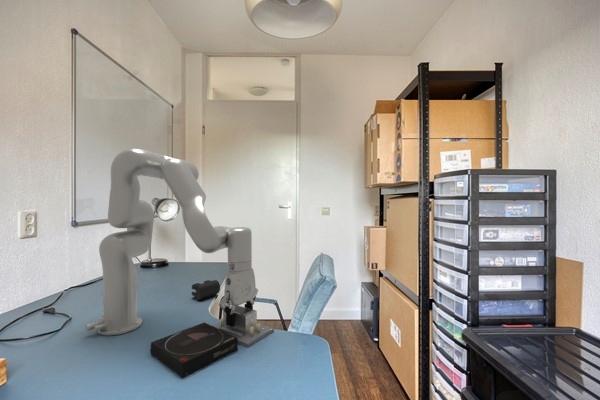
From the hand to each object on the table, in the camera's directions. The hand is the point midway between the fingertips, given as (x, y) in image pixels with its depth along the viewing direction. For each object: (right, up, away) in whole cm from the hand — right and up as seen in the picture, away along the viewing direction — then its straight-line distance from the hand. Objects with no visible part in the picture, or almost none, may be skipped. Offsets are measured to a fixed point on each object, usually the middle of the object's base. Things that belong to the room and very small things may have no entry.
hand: (239, 320), depth 93 cm
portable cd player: (-10, -4, -12) cm, 17 cm away
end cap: (-22, -4, +33) cm, 40 cm away
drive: (0, -3, 0) cm, 3 cm away
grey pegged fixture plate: (0, -4, 0) cm, 4 cm away
